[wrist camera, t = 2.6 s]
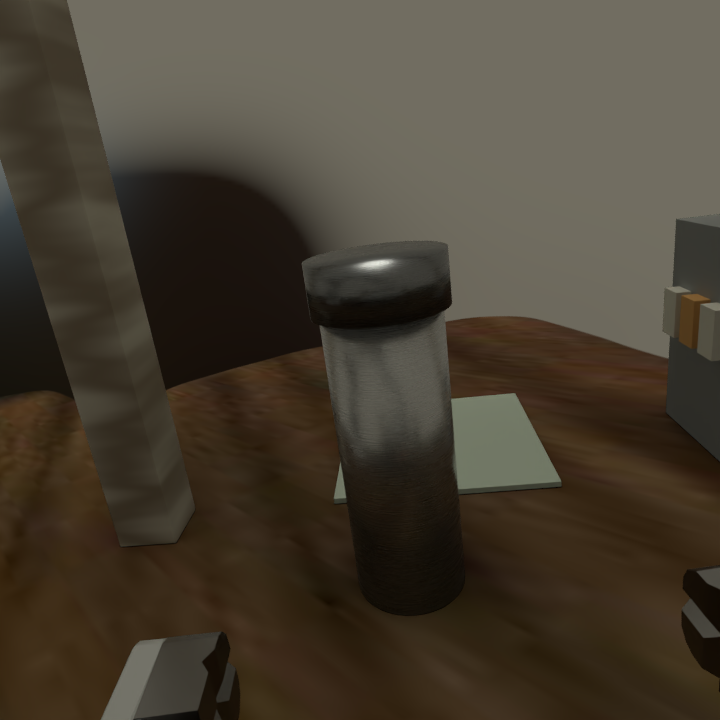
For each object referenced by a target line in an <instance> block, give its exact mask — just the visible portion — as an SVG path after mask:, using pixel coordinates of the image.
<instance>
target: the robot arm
mask: <svg viewBox="0 0 720 720" xmlns="http://www.w3.org/2000/svg"><path fill="white" fill-rule="evenodd" d="M683 590H684V591H685V592H686V593H687V595H688V596H689V597H690V600H689V601H688V602H687V603H686V605H685V606H684V607H683V608H682V629H683V633H684V636H685V640H686V643H687V645H688V647H689V649H690V651H691V653H692V655H693V656H694V658H695V659H696V661H697V662H698V663H699V665H700V666H701V668H703V669H704V670H706V671H708V672H710V673H711V674H713V675H715V676H716V677H718V678H720V565H716V566H709V567H702V568H695V569H688V570H687V571H686V573H685V575H684V577H683ZM229 653H230V645H229V642H228V639H227V636H226V634H225V633H223V632H214V633H205V634H196V635H186V636H177V637H168V638H166V639H155V640H145V641H140V642H139V643H137V644H136V645H135V646H134V648H133V649H132V651H131V654H130V656H129V658H128V660H127V662H126V665H125V667H124V669H123V671H122V674H121V676H120V678H119V680H118V682H117V685H116V687H115V689H114V691H113V694H112V696H111V698H110V700H109V703H108V705H107V707H106V709H105V711H104V714H103V716H102V718H101V720H238V718H239V713H240V688H239V679H238V675H237V671H236V668H235V667H233V666H232V665H231V664H230V663H228V657H229ZM719 692H720V681H719Z"/></svg>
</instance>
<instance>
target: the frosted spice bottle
mask: <svg viewBox="0 0 720 720" xmlns="http://www.w3.org/2000/svg"><path fill="white" fill-rule="evenodd" d="M302 268H303V274H304V281H305V287H306V293H307V300H308V306H309V312H310V319H311V321H312V322H313V323H315V324H317V325H320V330H321V336H322V343H323V350H324V356H325V363H326V369H327V376H328V382H329V389H330V395H331V402H332V409H333V415H334V422H335V428H336V435H337V441H338V448H339V454H340V461H341V467H342V474H343V481H344V487H345V494H346V500H347V507H348V513H349V520H350V526H351V533H352V539H353V546H354V553H355V559H356V566H357V572H358V579H359V585H360V589H361V591H362V593H363V595H364V597H365V598H366V599H367V600H368V601H369V602H370V603H371V604H372V605H374V606H375V607H377V608H379V609H381V610H383V611H386V612H389V613H393V614H398V615H420V614H425V613H429V612H433V611H436V610H438V609H440V608H442V607H444V606H446V605H447V604H449V603H450V602H451V601H453V600H454V599H455V598H456V597H457V596H458V594H459V593H460V592H461V590H462V588H463V585H464V582H465V568H464V555H463V542H462V530H461V517H460V504H459V492H458V479H457V466H456V454H455V441H454V428H453V416H452V403H451V390H450V378H449V365H448V352H447V340H446V327H445V316H444V315H445V314H444V310H446V309H447V308H449V307H450V306H451V304H452V295H451V282H450V269H449V255H448V245H447V244H445V243H442V242H436V241H405V242H390V243H380V244H373V245H365V246H358V247H352V248H347V249H341V250H336V251H332V252H327V253H324V254H320V255H317V256H314V257H311V258H308V259H307V260H305V261H303V262H302Z"/></svg>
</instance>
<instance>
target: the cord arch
mask: <svg viewBox="0 0 720 720" xmlns="http://www.w3.org/2000/svg"><path fill="white" fill-rule="evenodd" d="M0 160H1V163H2V166H3V169H4V172H5V176H6V179H7V182H8V185H9V189H10V192H11V195H12V198H13V201H14V204H15V208H16V211H17V214H18V217H19V221H20V224H21V227H22V230H23V234H24V237H25V240H26V243H27V247H28V249H29V253H30V256H31V259H32V263H33V266H34V269H35V272H36V276H37V279H38V282H39V285H40V288H41V291H42V295H43V298H44V301H45V304H46V308H47V311H48V314H49V317H50V321H51V324H52V327H53V330H54V334H55V337H56V340H57V343H58V346H59V350H60V353H61V356H62V359H63V362H64V366H65V369H66V372H67V375H68V378H69V382H70V385H71V388H72V391H73V394H74V398H75V401H76V404H77V408H78V411H79V414H80V417H81V421H82V424H83V427H84V430H85V433H86V437H87V440H88V443H89V446H90V450H91V453H92V456H93V459H94V462H95V466H96V469H97V472H98V475H99V479H100V482H101V485H102V488H103V491H104V495H105V498H106V501H107V504H108V508H109V511H110V514H111V517H112V520H113V524H114V527H115V530H116V533H117V537H118V540H119V543H120V546H121V547H124V546H138V545H152V544H167V543H176V542H177V540H178V539H179V537H180V535H181V534H182V532H183V530H184V528H185V527H186V525H187V523H188V521H189V520H190V518H191V516H192V515H193V513H194V511H195V505H194V501H193V497H192V493H191V489H190V485H189V481H188V477H187V473H186V469H185V465H184V461H183V457H182V454H181V450H180V446H179V442H178V438H177V434H176V430H175V426H174V422H173V418H172V414H171V410H170V406H169V402H168V398H167V394H166V390H165V387H164V383H163V379H162V375H161V371H160V367H159V363H158V359H157V355H156V351H155V347H154V343H153V339H152V335H151V331H150V327H149V323H148V319H147V315H146V312H145V307H144V303H143V300H142V296H141V292H140V288H139V284H138V280H137V276H136V272H135V268H134V264H133V260H132V256H131V252H130V248H129V244H128V240H127V237H126V233H125V228H124V224H123V221H122V217H121V213H120V209H119V205H118V201H117V197H116V193H115V189H114V185H113V181H112V177H111V173H110V170H109V165H108V161H107V157H106V153H105V150H104V146H103V142H102V138H101V134H100V130H99V126H98V122H97V118H96V114H95V110H94V106H93V102H92V98H91V94H90V90H89V86H88V82H87V78H86V74H85V71H84V67H83V63H82V59H81V55H80V51H79V47H78V43H77V39H76V35H75V31H74V27H73V23H72V19H71V15H70V11H69V7H68V3H67V0H0Z"/></svg>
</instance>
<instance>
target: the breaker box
mask: <svg viewBox="0 0 720 720" xmlns="http://www.w3.org/2000/svg"><path fill="white" fill-rule="evenodd" d="M663 332H665V333H667V334H668V335H670V347H669V364H668V383H667V402H666V413H667V414H668V415H669V416H670V417H672V418H673V419H674V420H675V421H676V422H677V423H678V424H679V425H680V426H681V427H683V428H684V429H685V430H686V431H687V432H688V433H689V434H690V435H691V436H692V437H693V438H695V439H696V440H697V441H698V442H699V443H700V444H701V445H702V446H703V447H704V448H705V449H707V450H708V451H709V452H710V453H711V454H712V455H713V456H714V457H715V458H716V459H718V460H719V461H720V214H716V215H707V216H699V217H690V218H682V219H676V234H675V253H674V271H673V287H668V288H665V295H664V314H663Z"/></svg>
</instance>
